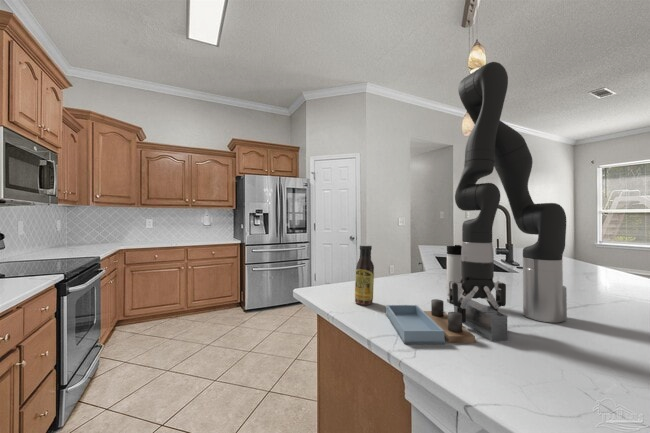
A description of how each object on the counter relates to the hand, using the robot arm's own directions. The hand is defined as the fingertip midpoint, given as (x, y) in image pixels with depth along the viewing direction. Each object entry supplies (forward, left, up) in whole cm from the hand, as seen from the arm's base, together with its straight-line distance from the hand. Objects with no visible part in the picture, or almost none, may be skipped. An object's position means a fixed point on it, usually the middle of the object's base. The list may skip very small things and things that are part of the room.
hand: (477, 321), depth 74 cm
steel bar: (0, 0, -2) cm, 2 cm away
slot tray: (+17, 0, -2) cm, 17 cm away
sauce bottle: (+27, -22, -2) cm, 35 cm away
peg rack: (+8, 0, -2) cm, 8 cm away
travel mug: (-5, -23, -2) cm, 24 cm away
